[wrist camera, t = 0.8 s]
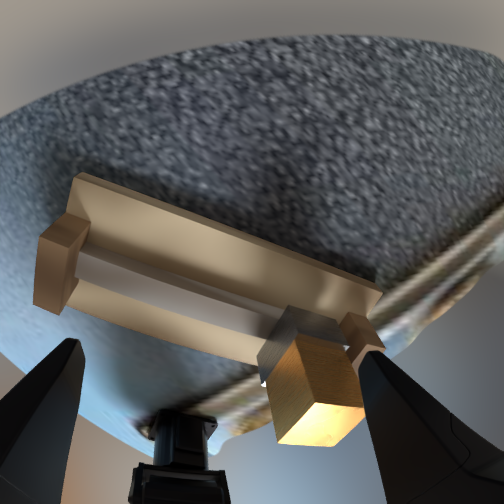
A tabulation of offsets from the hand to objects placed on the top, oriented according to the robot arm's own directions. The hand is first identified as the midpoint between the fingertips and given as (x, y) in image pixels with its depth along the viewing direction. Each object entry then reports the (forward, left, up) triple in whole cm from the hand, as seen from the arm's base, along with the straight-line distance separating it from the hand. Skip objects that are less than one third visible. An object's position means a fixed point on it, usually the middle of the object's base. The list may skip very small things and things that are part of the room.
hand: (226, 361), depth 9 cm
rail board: (-6, -2, -14) cm, 15 cm away
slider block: (-6, -8, -11) cm, 15 cm away
